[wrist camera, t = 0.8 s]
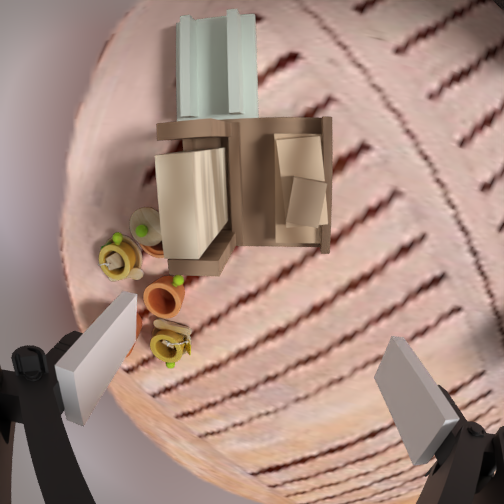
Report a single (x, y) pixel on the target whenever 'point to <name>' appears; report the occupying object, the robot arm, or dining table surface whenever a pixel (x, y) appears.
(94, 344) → the robot arm
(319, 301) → the dining table surface
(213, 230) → the birch block
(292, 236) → the rack
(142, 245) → the toy tea set
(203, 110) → the stand
